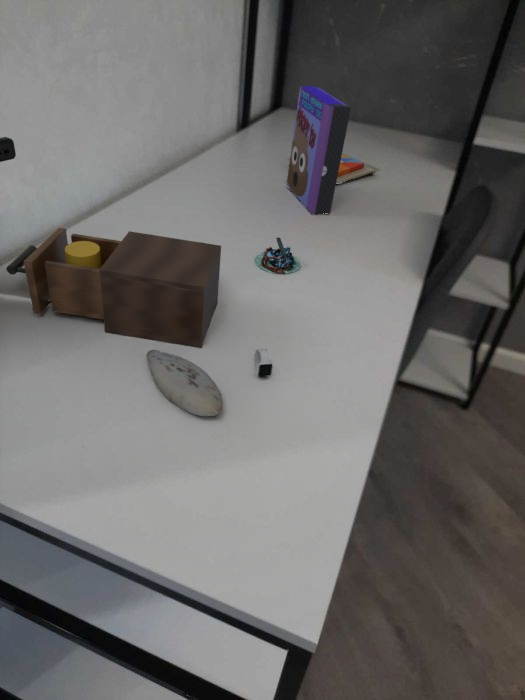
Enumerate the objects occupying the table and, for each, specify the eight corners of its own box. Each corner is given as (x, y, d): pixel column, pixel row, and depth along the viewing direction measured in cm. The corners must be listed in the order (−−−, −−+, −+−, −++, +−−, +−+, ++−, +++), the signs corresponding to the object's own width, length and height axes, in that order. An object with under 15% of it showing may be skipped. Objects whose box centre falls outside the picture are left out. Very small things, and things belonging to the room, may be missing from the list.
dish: (310, 258, 99) (281, 232, 97) (288, 288, 99) (258, 263, 97) (296, 257, 107) (268, 234, 104) (275, 285, 107) (247, 262, 104)
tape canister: (65, 300, 80) (58, 253, 75) (78, 283, 84) (72, 238, 80) (97, 305, 80) (92, 259, 75) (108, 288, 84) (105, 243, 79)
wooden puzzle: (287, 165, 148) (289, 153, 146) (331, 157, 159) (333, 145, 157) (333, 186, 139) (335, 173, 137) (376, 175, 150) (379, 163, 148)
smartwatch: (251, 365, 76) (254, 343, 74) (265, 364, 77) (268, 342, 74) (256, 381, 73) (259, 360, 71) (271, 380, 74) (274, 359, 72)
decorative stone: (166, 353, 76) (166, 334, 74) (237, 411, 68) (239, 392, 66) (130, 369, 73) (129, 350, 70) (201, 433, 65) (202, 413, 63)
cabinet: (105, 332, 78) (99, 269, 72) (132, 289, 89) (129, 231, 82) (201, 348, 78) (204, 286, 71) (217, 303, 88) (221, 245, 82)
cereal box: (286, 186, 135) (300, 85, 120) (303, 186, 137) (319, 86, 122) (311, 214, 122) (330, 105, 108) (329, 214, 124) (351, 106, 109)
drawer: (5, 308, 79) (-7, 256, 73) (40, 272, 88) (32, 223, 83) (121, 327, 78) (117, 276, 73) (144, 288, 87) (142, 240, 82)
